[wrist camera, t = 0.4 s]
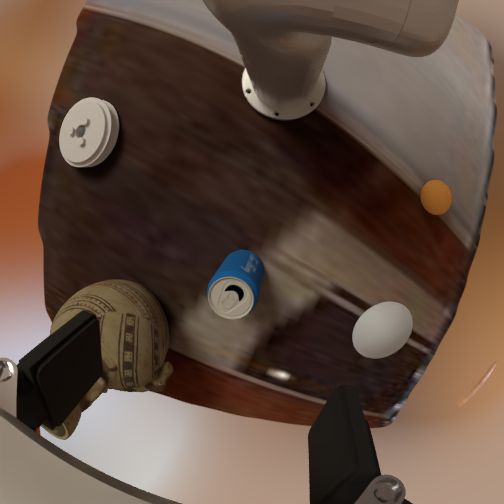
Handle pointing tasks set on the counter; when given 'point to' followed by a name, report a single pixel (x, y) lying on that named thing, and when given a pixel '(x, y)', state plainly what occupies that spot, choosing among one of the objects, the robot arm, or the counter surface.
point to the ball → (436, 197)
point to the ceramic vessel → (120, 341)
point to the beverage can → (236, 285)
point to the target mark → (382, 329)
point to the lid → (89, 132)
